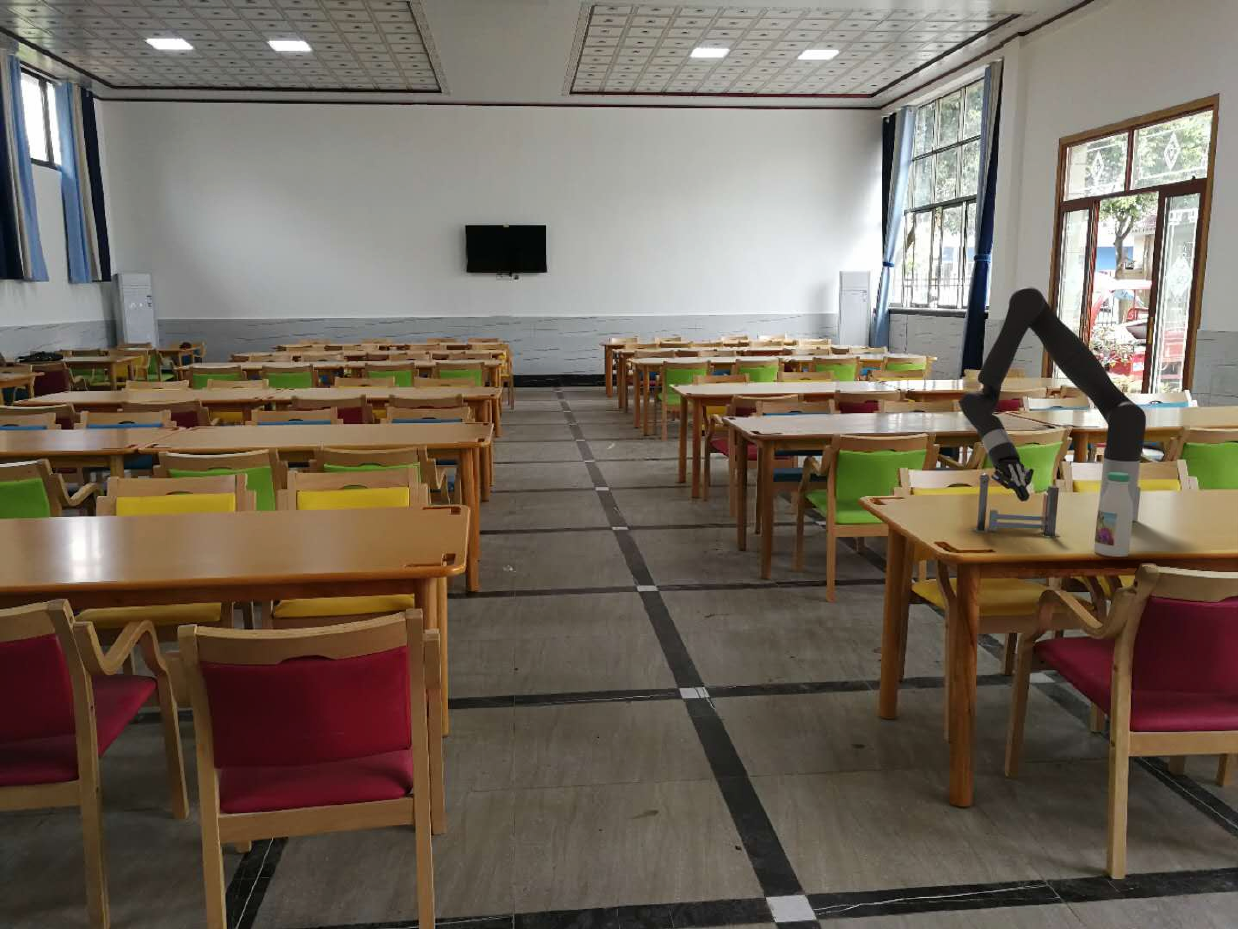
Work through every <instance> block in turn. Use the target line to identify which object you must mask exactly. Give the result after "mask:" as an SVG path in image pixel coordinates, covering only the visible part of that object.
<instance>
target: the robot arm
mask: <svg viewBox="0 0 1238 929" xmlns="http://www.w3.org/2000/svg"><path fill="white" fill-rule="evenodd" d="M1029 329H1030V330H1031V331H1032V332H1033V333H1034V334H1035V335H1036V337H1038V339H1039V340H1040V342H1041V344H1042V345H1043V348H1044V349H1045V351H1046V352H1047V354H1048V355H1049V357H1050V358H1051V359H1052V361H1053V363H1054V364H1055V365H1056V366H1057V367H1058V369H1059V370H1060V371H1061V372H1062V373H1063V375H1064V376H1065V378H1067V379H1068V380H1069V382H1071V383H1072V384H1073V385H1074V386H1075V387H1076V388H1078V389H1079V391H1081V392H1082V393H1083V394H1084V395H1085V396H1086V397H1087V398H1088V399H1089V400H1090V401H1091V403H1093V404H1094V406H1095V407H1096V409H1097V410H1098V411H1099V413H1100V415H1101V416H1102V417H1103V419H1104V420H1105V422H1106V424H1107V432H1106V433H1107V434H1106V435H1107V436H1106V441H1105V446H1104V449H1103V457H1102V458H1103V460H1102V471H1101V480H1100V482H1101V483H1100V489H1099V490H1100V491H1099V501H1098V504H1099V503H1100V500H1101V498H1102V497H1103V495H1104V493H1105V492H1106V490H1107V488H1108V484H1109V482H1108V474H1109V473H1111V472H1120V473H1126V474H1129V475H1130V479H1129V483H1128V492H1129V495H1130V497H1131V500H1132V503H1133V521H1132V522H1136V521H1138V520H1139V519H1138V518H1139V509H1140V502H1141V501H1140V499H1141V490H1142V489H1141V487H1140V486H1139V476H1140V467H1141V457H1142V452H1143V450H1144V443H1145V435H1146V427H1147V417H1146V413H1145V411H1144V409H1143V408H1142V407H1140V406H1139V405H1138V404H1137V403H1135V402H1133V401H1132V400H1131V399H1130V398H1128V396H1127V395H1125V394H1124V393H1123V392H1122V391H1121V390H1120V389H1119V388H1118V387H1117V385H1115V384H1114V382H1113V381H1112V379H1111V378H1110V376H1109V374H1108V372H1107V371H1106V369H1105V368H1104V366H1103V364H1102V362H1100V360H1099V359H1098V358H1097V356H1096V355H1095V354H1094V353H1093V351H1092V350H1091V349H1090V348H1089V346H1087V344H1086V343H1085V342H1084V341H1083V340H1082V339H1081V338H1080V337H1079V336H1078V335H1077V334H1076V333H1075V332H1074V331H1073V330H1072V329H1070V327H1069V326H1067V325H1066V324H1065V323H1064V322H1063V321H1062V320H1061V319H1060V318H1059V317H1058V315H1057V314H1056V313H1055V311H1054V310H1053V309H1052V307H1051V306H1050V304H1049V303H1048V301H1047V300H1046V298H1045V297H1044V295H1043V293H1042V292H1041V291H1040V290H1039V289H1038V288H1036V287H1033V286H1022V287H1020V288H1018V289H1016V290H1015V291H1014V292H1013V293H1012V294H1011V296H1010V297H1009V301H1008V309H1007V312H1006V316H1005V319H1004V322H1003V325H1002V327H1001V330H1000V332H999V334H998V336H997V338H996V339H995V342H994V343H993V346H992V347H991V349H990V351H989V352H988V354H987V357H986V358H985V360H984V362H983V364H982V367H981V369H980V371H979V373H978V375H977V382H978V383H980V384H981V385H982V390H981V392H980V391H974V390H969V391H966V392H965V393H963V395H962V396H961V398H960V403H959V404H960V409H961V411H962V414H963V415H964V417H965V418H966V419H967V421H968V422H969V423H970V424H971V425H972V426H973V427H974V428H975V430H976V431H977V433H978V435H979V437H980V440H981V441H982V444H983V448H984V451H985V452H986V454H987V457H988V459H989V461H990V463H991V464H992V467H993V468H994V470H995V471H994V472H993V473H992V474H991V475H990V478H991V479H993V480H994V481H995V482H997V483H998V484H999V485H1001V486H1003V487H1004V488H1005V489H1006V490H1010V489H1011V490H1012V491H1014V493H1015V495H1016V497H1017V498H1018V500H1019V501H1020V502H1027V501H1028V500H1029V499H1030V492H1029V491H1028V489H1027V487H1028V486H1029V485H1030V484H1031V482H1032V479H1033V476H1034V472H1035V471H1034V468H1026V467H1025V464H1024V463H1022V461H1021V457H1020V453H1019V452H1018V449H1017V448H1016V446H1015V444H1014V442H1013V440H1012V438H1011V436H1010V434H1009V433H1008V432H1007V430H1006V428H1005V427H1004V424H1003V423H1002V421H1001V419H1000V418H999V417H998V416H997V415H995V414H994V413H995V411H996V410H997V408H998V404H999V401H1000V396H1001V392H1002V385H1003V382H1004V380H1005V379H1006V376H1007V375H1008V372H1009V371H1010V369H1011V366H1012V363H1013V362H1014V359H1015V356H1016V354H1017V352H1018V349H1019V347H1020V344H1021V342H1022V341H1023V338H1024V337H1025V335H1026V333H1027V332H1028V330H1029Z"/></svg>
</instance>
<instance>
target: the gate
mask: <svg viewBox="0 0 1238 929" xmlns="http://www.w3.org/2000/svg"><path fill="white" fill-rule="evenodd" d="M1047 497H1048V492H1047V493H1043V499H1042V500H1043V501H1042V511H1041V515H1037V514H1036V515H1035V514H1034V515H1031V514H1028V515H1027V514H1003V513H1001V514H998V513H999V511H998V510H997V509H989V518H988V530H989V531H997V528H1002V529H1032V530H1033V529H1034V530H1035V529H1037V530H1040V531H1041V532H1045V520H1046V509H1047ZM998 520H1000V522H999V521H998ZM1001 520H1003V521H1005V520H1006V521H1008V520H1009V521H1035V522H1040V523H1034V522H1033V523H1030V522H1029V523H1028V522H1002V521H1001Z"/></svg>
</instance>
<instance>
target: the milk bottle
mask: <svg viewBox="0 0 1238 929" xmlns="http://www.w3.org/2000/svg"><path fill="white" fill-rule="evenodd" d="M1129 479H1130V475H1129V474H1126V473H1120V472H1111V473H1109V474H1108V482H1109V484H1108V488H1107V490H1106V492H1105V493H1104V495H1103V497H1102V498H1101V500H1100V499H1099V500H1100V503H1099V502H1098V508H1097V515H1096V525H1095V536H1094V545H1093V549H1094V552H1095V553H1096V554H1098V555H1102V556H1106V557H1107V556H1108V557H1112V558H1113V557H1114V558H1123V557H1128V556H1129V555H1130V551H1131V550H1130V549H1131V539H1132V529H1133V522H1134V521H1133V503H1132V500H1131V497H1130V495H1129V492H1128V483H1129Z"/></svg>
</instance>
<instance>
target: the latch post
mask: <svg viewBox="0 0 1238 929" xmlns="http://www.w3.org/2000/svg"><path fill="white" fill-rule="evenodd" d="M1047 486H1048V488H1047V493H1048V497H1047V509H1046V520H1045V532H1043V531H1039V533H1038V534H1040V535H1041V534H1042V535H1041V536H1043V535H1044V536H1049V537H1048V538H1061V536H1060V534H1058V533H1057V532H1056V528H1057V527H1056V526H1057V515H1058V514H1057V513H1058V504H1059V492H1060V487H1059V486H1058V485H1047ZM1044 536H1043V537H1044Z"/></svg>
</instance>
